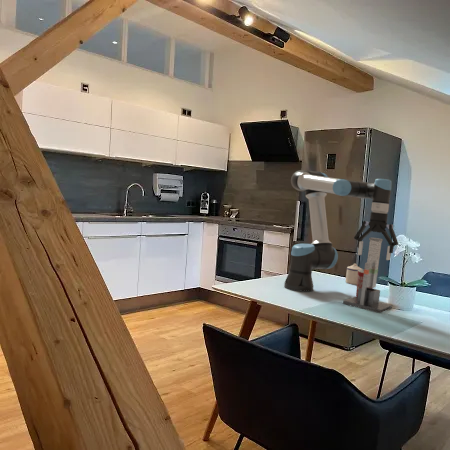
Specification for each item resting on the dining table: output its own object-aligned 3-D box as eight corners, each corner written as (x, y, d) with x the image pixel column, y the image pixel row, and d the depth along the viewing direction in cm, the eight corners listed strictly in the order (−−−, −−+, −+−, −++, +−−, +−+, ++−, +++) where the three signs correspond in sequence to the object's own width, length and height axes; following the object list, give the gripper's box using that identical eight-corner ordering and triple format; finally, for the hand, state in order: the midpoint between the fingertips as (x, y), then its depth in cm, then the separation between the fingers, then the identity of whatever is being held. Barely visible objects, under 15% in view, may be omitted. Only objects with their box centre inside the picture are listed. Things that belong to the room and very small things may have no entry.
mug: (375, 300, 231) (378, 274, 229) (358, 298, 230) (361, 272, 229) (366, 294, 243) (369, 269, 242) (349, 293, 242) (352, 267, 241)
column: (363, 286, 215) (369, 237, 213) (367, 285, 219) (373, 237, 217) (372, 288, 212) (379, 239, 210) (376, 287, 216) (382, 239, 214)
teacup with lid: (363, 285, 269) (366, 265, 268) (350, 284, 267) (352, 264, 266) (352, 280, 281) (355, 262, 280) (339, 280, 278) (342, 261, 277)
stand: (342, 303, 216) (348, 259, 214) (355, 299, 228) (361, 257, 226) (380, 313, 205) (386, 266, 203) (391, 308, 216) (397, 264, 215)
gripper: (350, 209, 218) (345, 253, 219) (404, 215, 202) (397, 262, 204) (357, 209, 223) (351, 252, 225) (409, 215, 208) (403, 261, 210)
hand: (373, 257), depth 214 cm, fingers open, 13 cm apart
